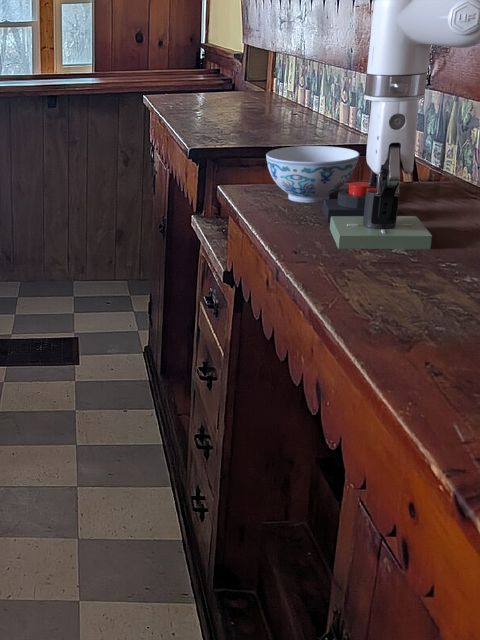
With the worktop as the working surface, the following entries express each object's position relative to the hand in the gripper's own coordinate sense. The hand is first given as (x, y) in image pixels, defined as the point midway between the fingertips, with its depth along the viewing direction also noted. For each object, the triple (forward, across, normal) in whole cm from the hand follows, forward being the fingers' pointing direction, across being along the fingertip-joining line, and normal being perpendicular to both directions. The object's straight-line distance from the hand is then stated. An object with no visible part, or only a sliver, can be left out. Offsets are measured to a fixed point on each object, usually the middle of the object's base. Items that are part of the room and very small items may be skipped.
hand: (379, 217), depth 124 cm
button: (0, +12, +1) cm, 13 cm away
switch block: (+3, +12, +1) cm, 13 cm away
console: (+3, 0, 0) cm, 3 cm away
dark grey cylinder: (+1, 0, 0) cm, 1 cm away
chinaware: (+3, +26, +7) cm, 27 cm away
